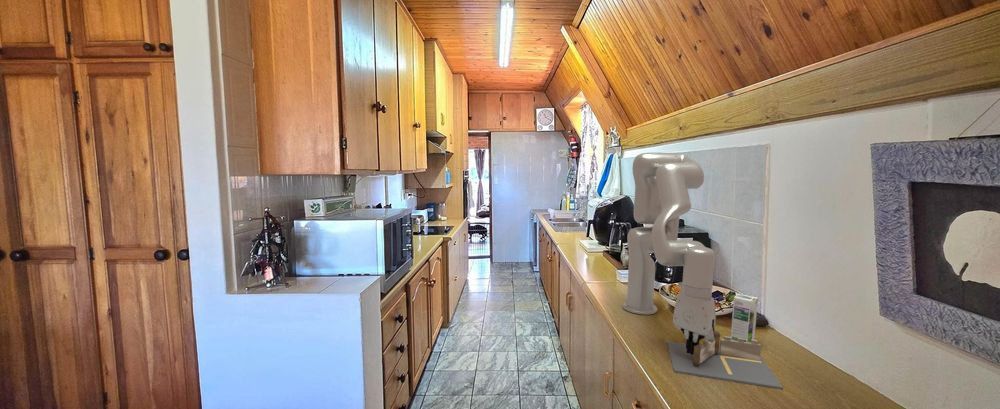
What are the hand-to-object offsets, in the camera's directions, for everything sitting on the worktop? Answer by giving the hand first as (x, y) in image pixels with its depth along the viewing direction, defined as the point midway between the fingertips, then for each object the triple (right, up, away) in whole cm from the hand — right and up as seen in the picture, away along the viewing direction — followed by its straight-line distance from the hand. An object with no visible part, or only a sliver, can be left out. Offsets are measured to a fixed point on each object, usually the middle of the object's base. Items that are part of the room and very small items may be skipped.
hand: (691, 352), depth 112 cm
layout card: (+7, -2, -2) cm, 7 cm away
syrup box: (+22, -1, +12) cm, 25 cm away
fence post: (+13, -2, +1) cm, 13 cm away
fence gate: (+3, -1, -2) cm, 3 cm away
